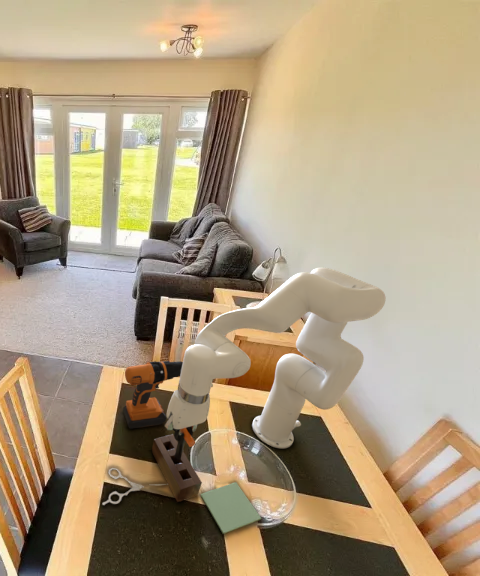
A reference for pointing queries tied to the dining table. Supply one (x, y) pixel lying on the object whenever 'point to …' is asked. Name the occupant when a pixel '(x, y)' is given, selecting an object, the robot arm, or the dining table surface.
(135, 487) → the scissors
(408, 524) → the dining table surface
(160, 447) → the rack
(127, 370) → the power drill
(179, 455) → the t handle
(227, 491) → the mat
